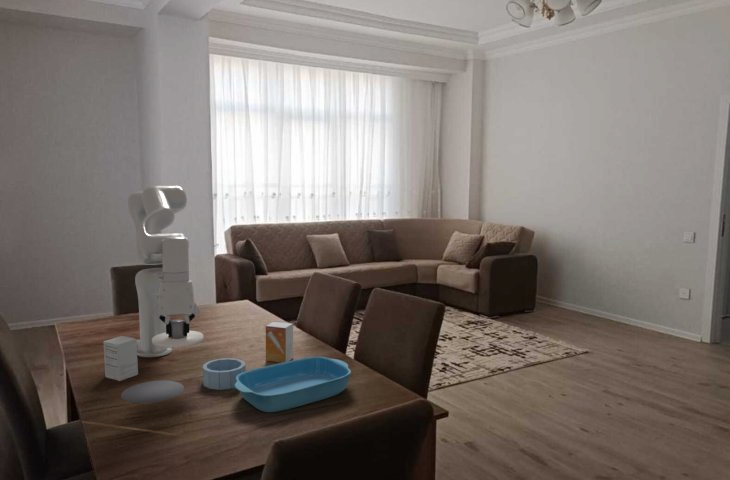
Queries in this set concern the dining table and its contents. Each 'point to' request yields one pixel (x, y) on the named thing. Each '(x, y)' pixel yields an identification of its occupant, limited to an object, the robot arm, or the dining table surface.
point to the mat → (152, 391)
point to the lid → (177, 337)
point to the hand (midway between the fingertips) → (178, 335)
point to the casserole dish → (293, 383)
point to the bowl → (222, 373)
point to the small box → (279, 342)
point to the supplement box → (120, 358)
